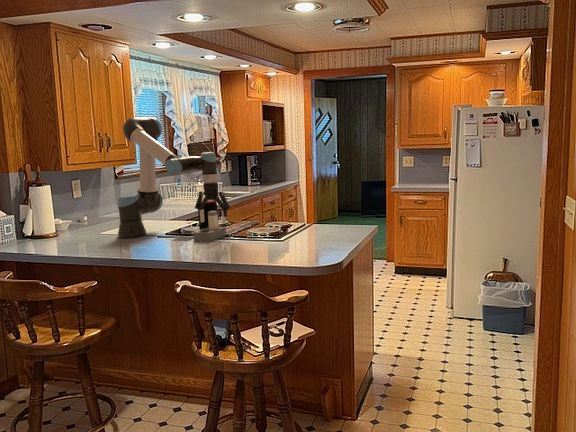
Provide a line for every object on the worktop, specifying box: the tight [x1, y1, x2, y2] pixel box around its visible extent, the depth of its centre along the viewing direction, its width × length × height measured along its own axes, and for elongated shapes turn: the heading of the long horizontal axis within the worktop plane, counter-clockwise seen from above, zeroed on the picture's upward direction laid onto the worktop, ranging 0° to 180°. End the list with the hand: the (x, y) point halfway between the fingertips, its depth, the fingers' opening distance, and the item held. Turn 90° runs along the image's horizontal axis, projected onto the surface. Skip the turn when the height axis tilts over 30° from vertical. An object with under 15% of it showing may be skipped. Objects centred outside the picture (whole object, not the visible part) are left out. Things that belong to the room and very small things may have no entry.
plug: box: [208, 211, 219, 229], centre depth 294 cm, size 4×4×13 cm
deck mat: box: [171, 235, 194, 242], centre depth 293 cm, size 10×10×1 cm
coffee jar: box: [197, 198, 220, 230], centre depth 309 cm, size 11×11×18 cm
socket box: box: [192, 226, 227, 243], centre depth 291 cm, size 10×16×5 cm, turn 156°
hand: (213, 222), depth 294 cm, fingers open, 13 cm apart
